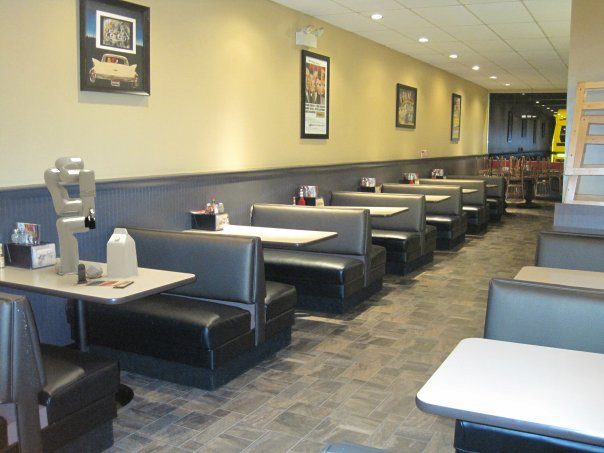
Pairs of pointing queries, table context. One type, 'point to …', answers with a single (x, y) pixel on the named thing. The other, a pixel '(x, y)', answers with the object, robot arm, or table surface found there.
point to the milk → (121, 255)
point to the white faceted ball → (94, 271)
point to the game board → (107, 283)
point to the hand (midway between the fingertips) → (90, 228)
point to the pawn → (81, 274)
